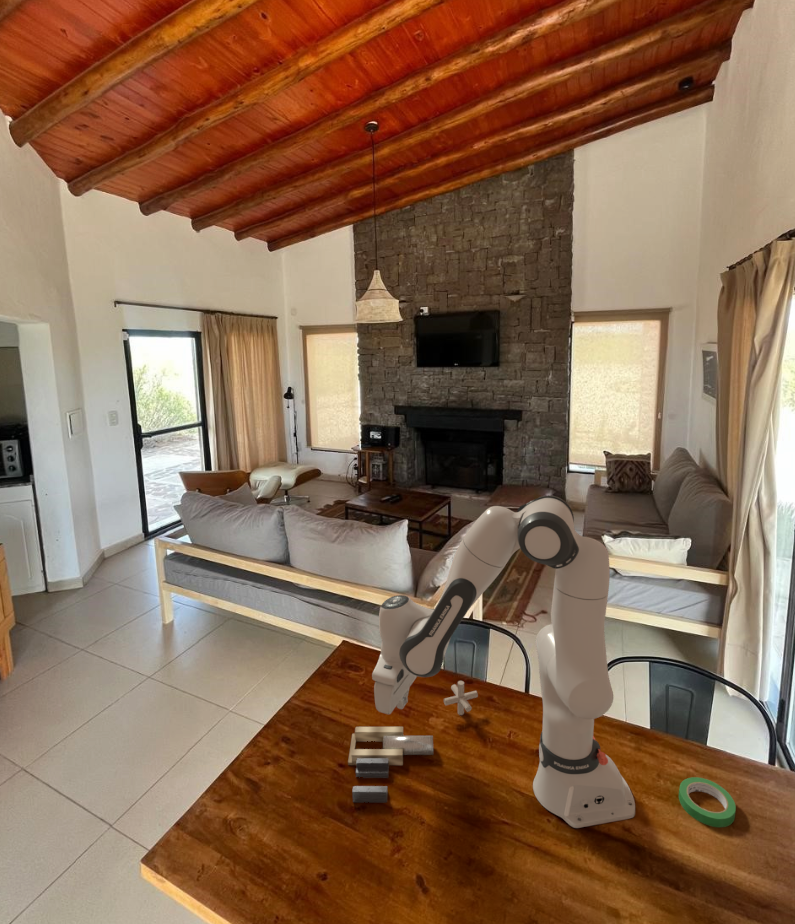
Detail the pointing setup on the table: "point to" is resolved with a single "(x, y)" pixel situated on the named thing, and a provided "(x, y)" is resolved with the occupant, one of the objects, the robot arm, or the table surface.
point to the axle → (410, 744)
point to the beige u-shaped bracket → (375, 735)
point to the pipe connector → (461, 698)
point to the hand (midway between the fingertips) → (402, 705)
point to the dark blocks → (371, 770)
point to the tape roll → (702, 814)
